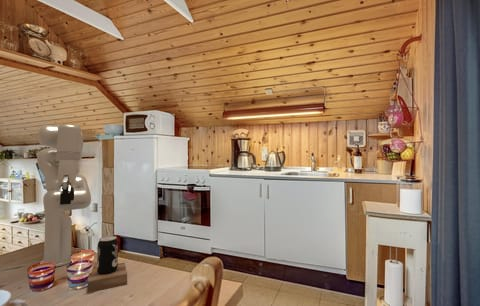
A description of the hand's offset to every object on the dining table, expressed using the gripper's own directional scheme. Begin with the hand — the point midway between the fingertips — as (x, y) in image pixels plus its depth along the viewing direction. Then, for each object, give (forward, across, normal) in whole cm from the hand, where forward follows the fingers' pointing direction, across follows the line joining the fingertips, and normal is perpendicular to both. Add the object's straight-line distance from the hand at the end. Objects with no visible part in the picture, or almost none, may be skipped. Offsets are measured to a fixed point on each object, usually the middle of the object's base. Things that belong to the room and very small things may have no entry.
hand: (67, 202), depth 93 cm
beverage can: (+25, +10, +14) cm, 30 cm away
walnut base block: (+28, +10, +14) cm, 33 cm away
